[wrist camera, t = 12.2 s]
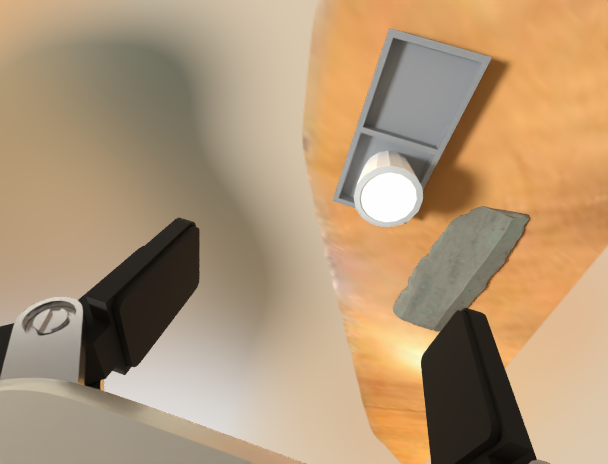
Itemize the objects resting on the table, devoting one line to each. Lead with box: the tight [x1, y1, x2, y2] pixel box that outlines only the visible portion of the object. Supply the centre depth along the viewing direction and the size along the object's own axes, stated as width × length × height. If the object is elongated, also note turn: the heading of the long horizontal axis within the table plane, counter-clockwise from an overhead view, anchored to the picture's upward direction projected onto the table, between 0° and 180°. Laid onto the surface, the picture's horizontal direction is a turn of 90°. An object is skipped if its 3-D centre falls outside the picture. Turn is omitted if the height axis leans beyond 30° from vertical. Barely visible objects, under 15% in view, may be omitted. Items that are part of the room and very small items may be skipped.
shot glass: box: [354, 151, 423, 227], centre depth 33 cm, size 7×7×7 cm
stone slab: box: [393, 206, 529, 331], centre depth 43 cm, size 22×3×10 cm
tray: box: [333, 28, 492, 224], centre depth 34 cm, size 10×19×2 cm, turn 167°
